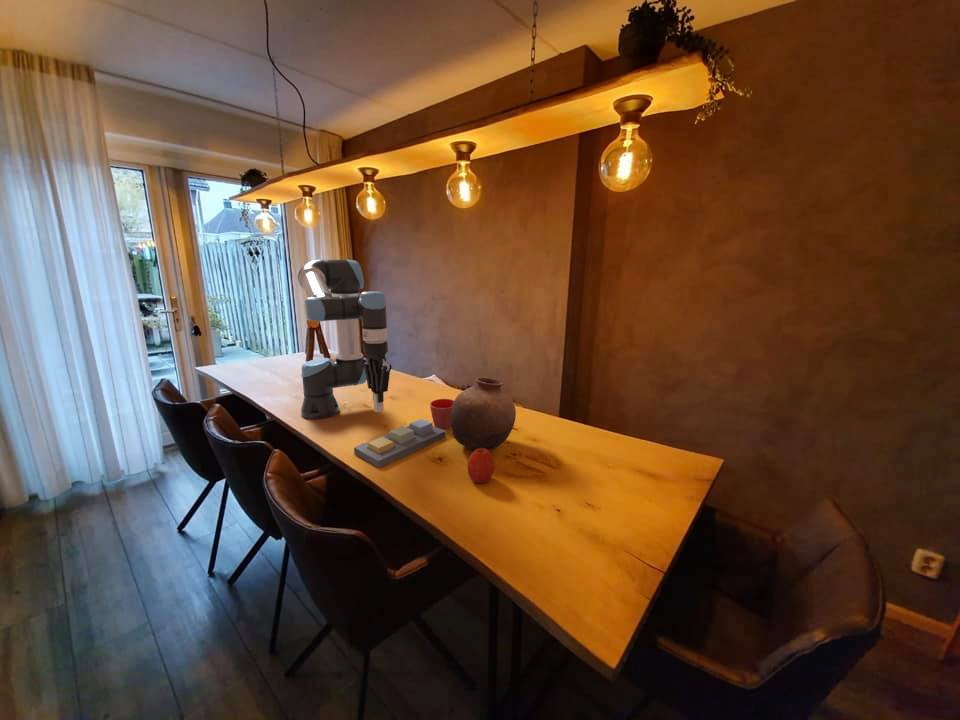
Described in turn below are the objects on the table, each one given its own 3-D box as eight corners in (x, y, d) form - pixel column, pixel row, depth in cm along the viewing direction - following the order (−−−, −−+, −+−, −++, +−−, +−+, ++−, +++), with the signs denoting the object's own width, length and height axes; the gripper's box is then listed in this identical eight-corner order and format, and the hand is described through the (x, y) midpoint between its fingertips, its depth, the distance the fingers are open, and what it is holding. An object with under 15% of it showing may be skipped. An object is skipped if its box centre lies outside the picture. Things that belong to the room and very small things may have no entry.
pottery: (440, 454, 130) (439, 385, 124) (465, 428, 152) (466, 368, 145) (504, 467, 123) (506, 393, 117) (521, 437, 144) (524, 374, 138)
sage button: (390, 440, 136) (389, 431, 135) (403, 434, 140) (403, 425, 140) (400, 445, 132) (400, 435, 131) (414, 439, 137) (413, 430, 136)
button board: (354, 453, 130) (353, 447, 129) (420, 426, 152) (420, 421, 152) (378, 467, 121) (378, 460, 121) (445, 437, 144) (445, 431, 143)
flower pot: (453, 432, 148) (453, 409, 145) (426, 429, 150) (426, 406, 147) (460, 421, 158) (460, 399, 155) (435, 419, 160) (434, 397, 158)
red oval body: (485, 491, 110) (485, 457, 107) (461, 482, 114) (461, 449, 111) (499, 478, 116) (499, 446, 114) (476, 470, 121) (476, 439, 118)
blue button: (409, 432, 143) (409, 423, 142) (421, 427, 147) (421, 418, 146) (420, 436, 139) (420, 427, 138) (432, 431, 143) (432, 422, 142)
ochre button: (368, 452, 129) (368, 442, 129) (383, 445, 134) (382, 436, 133) (379, 457, 126) (378, 448, 125) (393, 451, 130) (393, 441, 129)
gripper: (353, 339, 122) (357, 408, 128) (377, 345, 114) (381, 419, 120) (373, 336, 127) (376, 402, 133) (397, 342, 119) (400, 412, 125)
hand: (378, 410), depth 126 cm, fingers closed
